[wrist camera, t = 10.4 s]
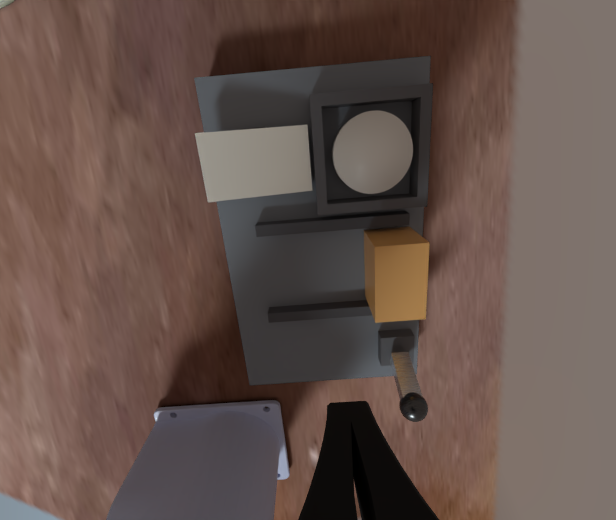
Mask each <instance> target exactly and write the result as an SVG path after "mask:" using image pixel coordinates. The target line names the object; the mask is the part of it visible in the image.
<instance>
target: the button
mask: <svg viewBox="0 0 616 520" xmlns="http://www.w3.org/2000/svg"><path fill="white" fill-rule="evenodd" d="M331 156H332V163H333V166H334V169H335V171H336V173H337V175H338V176H339V177H340V179H341V180H342V181H343V182H344V183H345V184H346V185H347V186H349V187H350V188H352V189H353V190H355V191H358V192H361V193H366V194H375V193H380V192H384V191H386V190H388V189H390V188H392V187H393V186H395V185H396V184H397V183H398V182H399V181H400V180H401V179H402V178H403V177H404V176H405V174H406V172H407V171H408V169H409V167H410V164H411V161H412V156H413V143H412V138H411V135H410V133H409V130H408V129H407V127H406V125H405V124H404V123H403V122H402V121H401V120H400V119H399V118H398V117H396V116H395V115H393V114H391V113H388V112H385V111H379V110H376V111H367V112H364V113H361V114H359V115H357V116H355V117H353V118H352V119H350V120H349V121H347V122H346V123H345V124H344V125H343V126H342V127H341V128H340V130H339V131H338V133H337V134H336V136H335V139H334V141H333V145H332V152H331Z"/></svg>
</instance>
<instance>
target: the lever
mask: <svg viewBox="0 0 616 520" xmlns="http://www.w3.org/2000/svg"><path fill="white" fill-rule="evenodd" d="M390 362H391V366H392V370H393V374H394V378H395V382H396V386H397V390H398V393H399V397H400V410H401V413H402V414H403V416H404V417H405V418H406V419H408V420H410V421H413V422H418V421H421V420H423V419H424V418H425V417H426V415H427V412H428V406H427V403H426V401H425V399H424V398H423V396H422V393H421V390H420V387H419V384H418V381H417V377H416V374H415V371H414V368H413V365H412V361H411V358H410V355H409V352H399V353H391V358H390Z"/></svg>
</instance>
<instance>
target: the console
mask: <svg viewBox="0 0 616 520" xmlns="http://www.w3.org/2000/svg"><path fill="white" fill-rule="evenodd" d="M430 59H431V56H423V57H412V58H402V59H391V60H380V61H370V62H359V63H348V64H338V65H327V66H316V67H305V68H295V69H284V70H273V71H263V72H252V73H241V74H230V75H220V76H209V77H198V78H194V79H195V85H196V90H197V96H198V101H199V107H200V112H201V118H202V123H203V129H204V133H205V132H218V131H231V130H244V129H257V128H270V127H283V126H296V125H307V126H308V140H309V153H310V166H311V179H312V191H304V192H296V193H287V194H278V195H269V196H260V197H251V198H242V199H233V200H225V201H217V207H218V212H219V218H220V223H221V229H222V234H223V240H224V246H225V251H226V257H227V262H228V268H229V273H230V279H231V284H232V290H233V296H234V301H235V307H236V312H237V318H238V323H239V329H240V334H241V340H242V346H243V351H244V357H245V362H246V368H247V373H248V379H249V384H250V385H264V384H279V383H294V382H309V381H324V380H339V379H353V378H368V377H383V376H394V374H393V370H392V366H391V362H390V358H391V353H399V352H409V355H410V358H411V361H412V365H413V368H414V371H415V374H417V354H418V332H419V320H408V321H394V322H380V323H375V320H374V318H373V315H372V313H371V310H370V307H369V305H368V302H367V299H366V297H365V265H364V230H373V229H386V228H399V227H411V228H412V229H413V230H414V231H416V232H417V233H418V234H419V235H421V236H422V237H423V218H424V207H427V200H428V179H429V158H430V137H431V116H432V95H433V83H430V84H429V82H430ZM376 110H379V111H385V112H388V113H391V114H393V115H395V116H396V117H398V118H399V119H400V120H401V121H402V122H403V123H404V124H405V125H406V127H407V129H408V130H409V133H410V135H411V138H412V143H413V156H412V161H411V164H410V167H409V169H408V171H407V172H406V174H405V176H404V177H403V178H402V179H401V180H400V181H399V182H398V183H397V184H396V185H395V186H393V187H392V188H390V189H388V190H386V191H384V192H380V193H375V194H366V193H361V192H358V191H355V190H353V189H352V188H350V187H349V186H347V185H346V184H345V183H344V182H343V181H342V180H341V179H340V177H339V176H338V175H337V173H336V171H335V169H334V166H333V163H332V156H331V152H332V145H333V141H334V139H335V136H336V134H337V133H338V131H339V130H340V128H341V127H342V126H343V125H344V124H345V123H346V122H347V121H349V120H350V119H352V118H353V117H355V116H357V115H359V114H361V113H364V112H367V111H376Z"/></svg>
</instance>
